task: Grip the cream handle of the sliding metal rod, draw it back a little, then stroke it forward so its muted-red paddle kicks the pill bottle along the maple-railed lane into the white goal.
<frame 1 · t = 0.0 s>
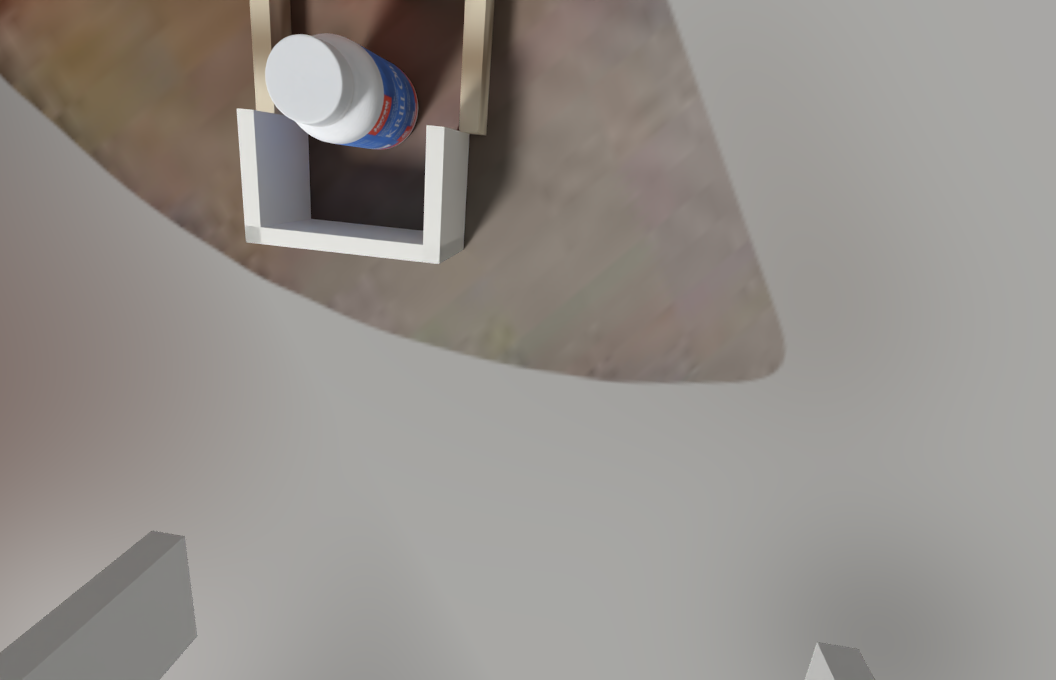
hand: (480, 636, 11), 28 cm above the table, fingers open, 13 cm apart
goal: (379, 185, 37), on the table
pill bottle: (381, 105, 36), on the table
lane rails: (380, 51, 34), on the table
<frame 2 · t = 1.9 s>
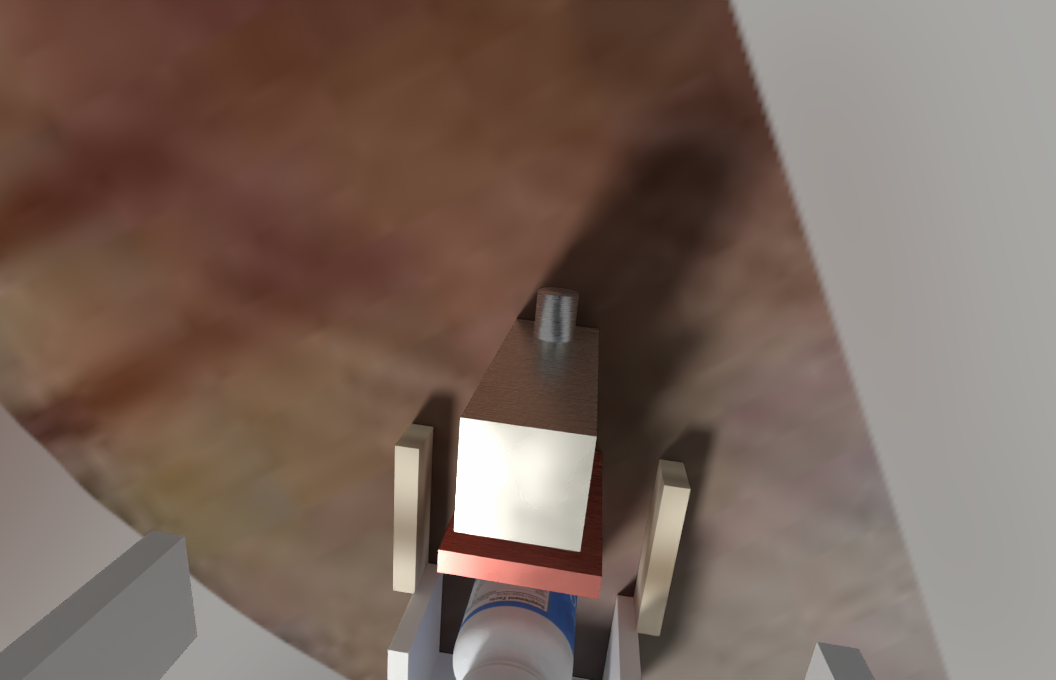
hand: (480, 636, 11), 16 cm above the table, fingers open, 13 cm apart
goal: (523, 631, 32), on the table
pill bottle: (531, 559, 31), on the table
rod: (539, 426, 22), point 6 cm above the table, slide at 0.0 cm
lane rails: (536, 514, 30), on the table
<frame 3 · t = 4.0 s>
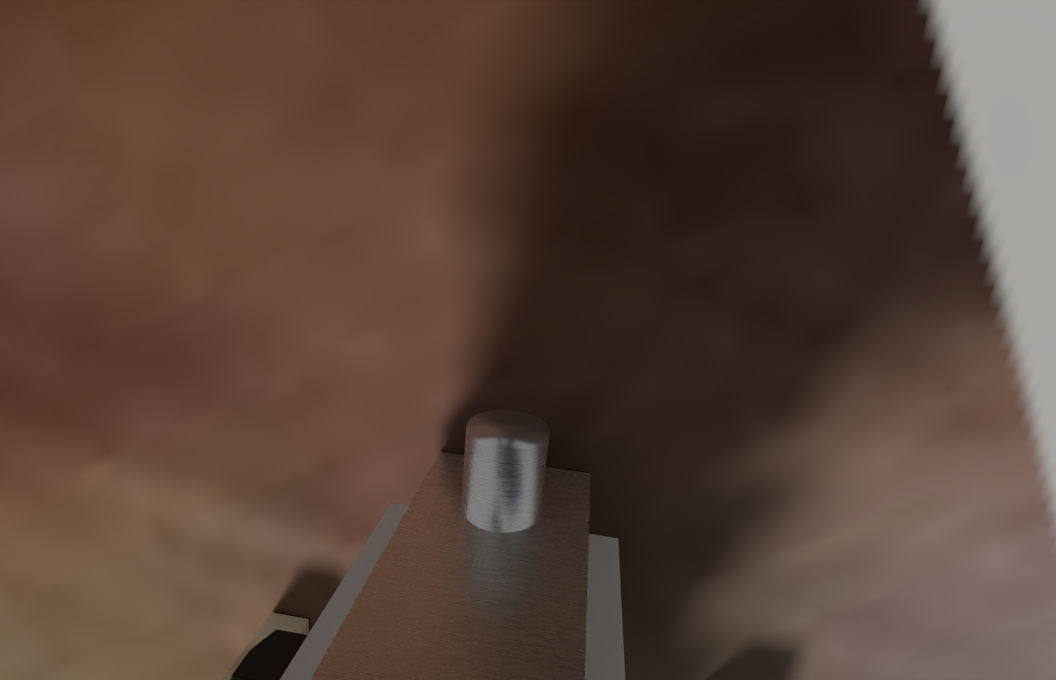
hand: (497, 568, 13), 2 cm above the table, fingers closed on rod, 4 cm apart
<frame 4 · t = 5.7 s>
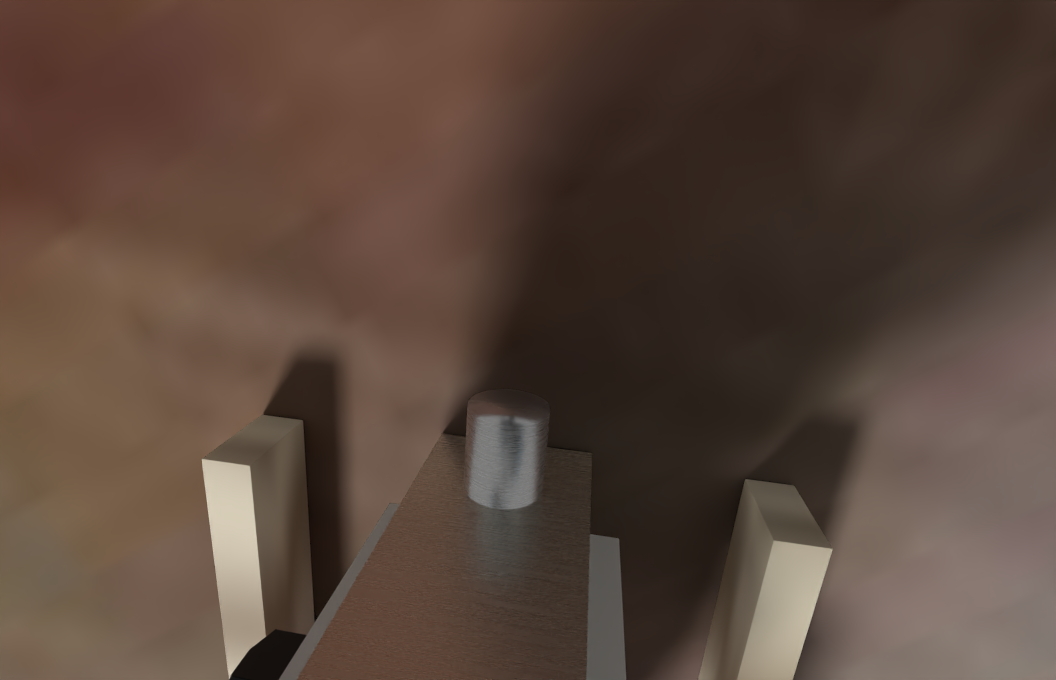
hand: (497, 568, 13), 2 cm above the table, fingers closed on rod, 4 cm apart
lane rails: (504, 583, 16), on the table
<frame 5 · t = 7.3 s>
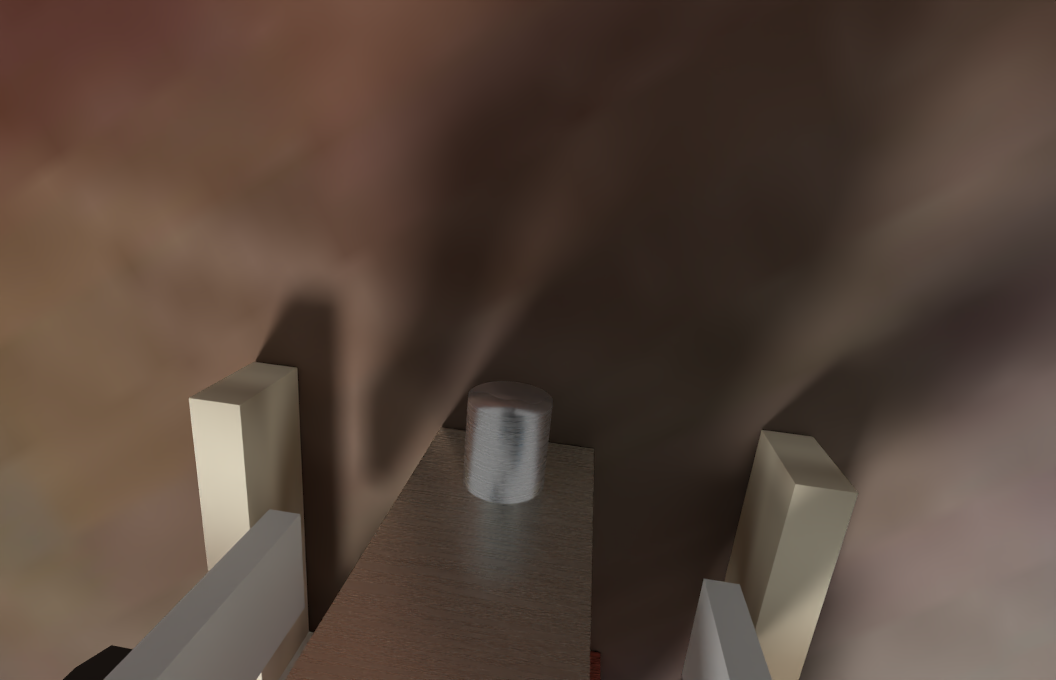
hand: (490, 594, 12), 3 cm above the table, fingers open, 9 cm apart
lane rails: (506, 543, 15), on the table
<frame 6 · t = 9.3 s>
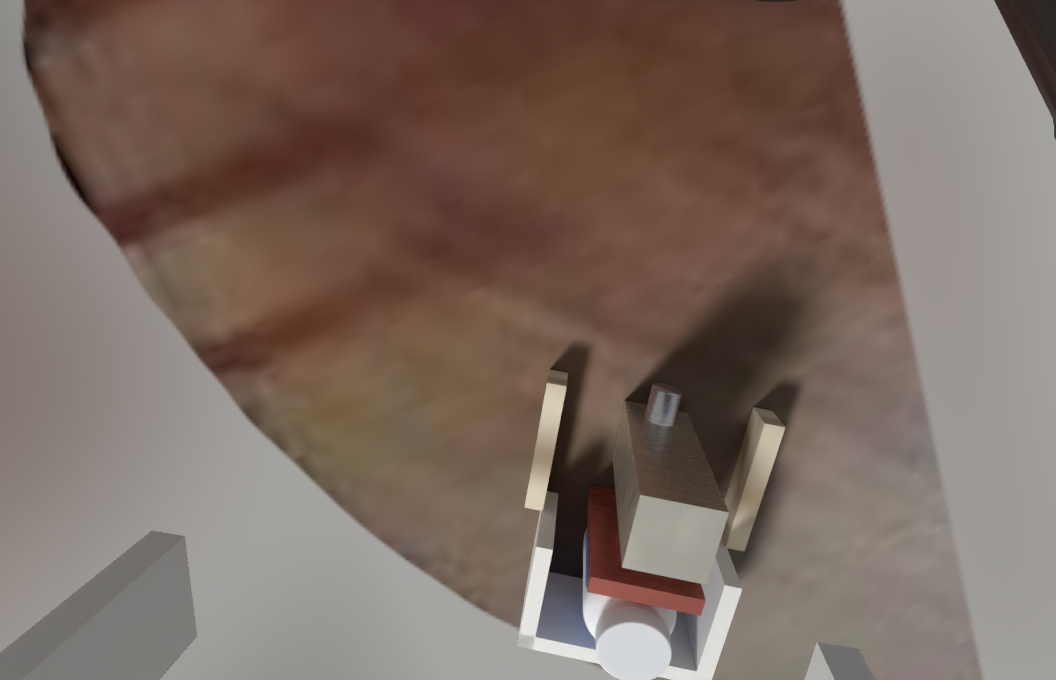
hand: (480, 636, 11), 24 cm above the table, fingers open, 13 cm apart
goal: (619, 553, 38), on the table
pill bottle: (622, 536, 38), on the table
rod: (656, 489, 30), point 6 cm above the table, slide at 7.6 cm
lane rails: (644, 450, 36), on the table
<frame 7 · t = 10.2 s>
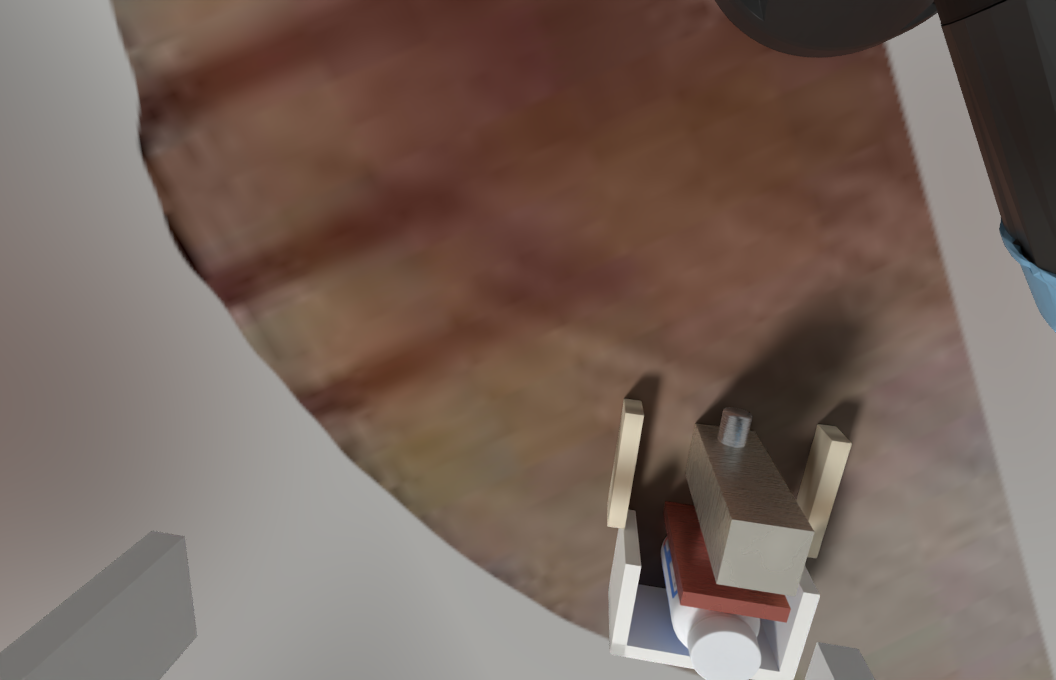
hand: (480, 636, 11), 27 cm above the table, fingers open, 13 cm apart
goal: (694, 562, 41), on the table
pill bottle: (696, 547, 41), on the table
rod: (735, 507, 33), point 6 cm above the table, slide at 7.6 cm
lane rails: (715, 468, 39), on the table
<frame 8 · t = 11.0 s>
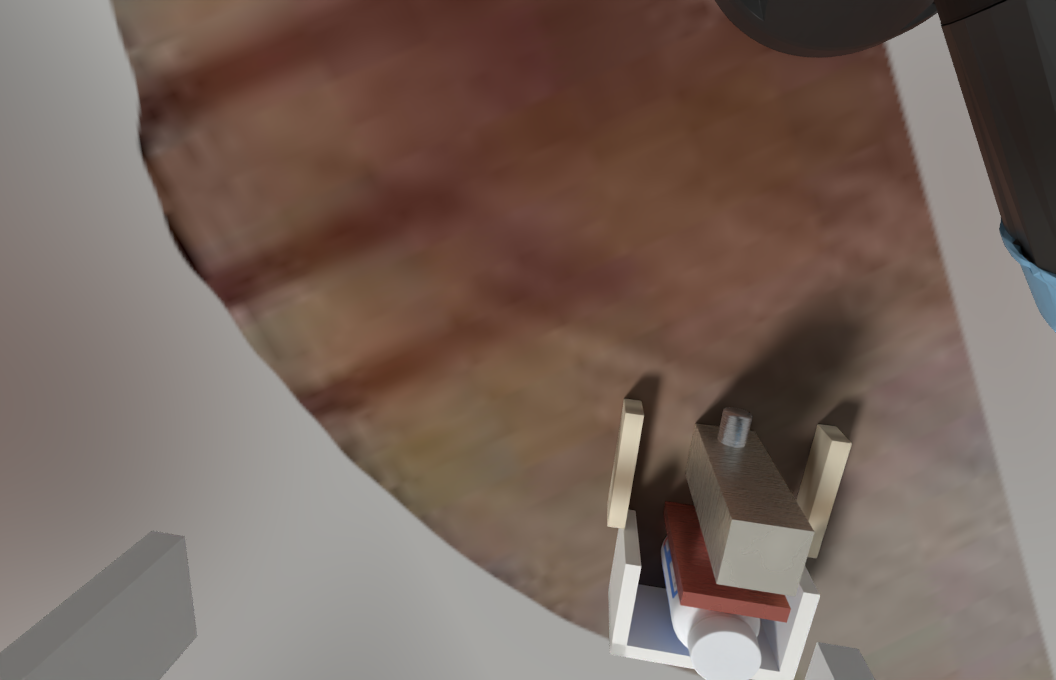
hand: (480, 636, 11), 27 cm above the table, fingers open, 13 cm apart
goal: (694, 562, 41), on the table
pill bottle: (696, 547, 41), on the table
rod: (735, 507, 33), point 6 cm above the table, slide at 7.6 cm
lane rails: (715, 468, 39), on the table
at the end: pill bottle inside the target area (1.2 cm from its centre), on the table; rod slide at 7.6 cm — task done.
